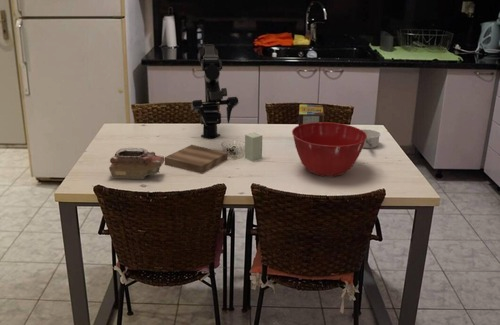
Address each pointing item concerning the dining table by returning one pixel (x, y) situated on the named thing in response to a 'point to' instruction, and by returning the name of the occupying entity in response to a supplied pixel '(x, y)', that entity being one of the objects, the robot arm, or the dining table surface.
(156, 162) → the decorative box
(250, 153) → the sage block
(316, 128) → the mixing bowl
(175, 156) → the walnut base
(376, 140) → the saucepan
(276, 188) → the dining table surface
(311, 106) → the protein box
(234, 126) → the dining table surface
